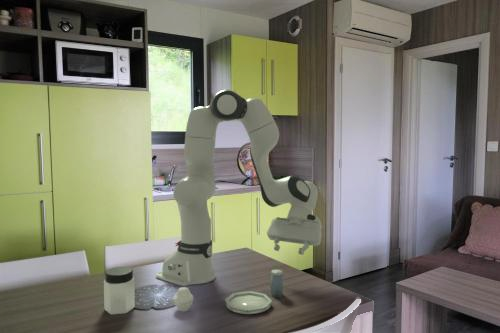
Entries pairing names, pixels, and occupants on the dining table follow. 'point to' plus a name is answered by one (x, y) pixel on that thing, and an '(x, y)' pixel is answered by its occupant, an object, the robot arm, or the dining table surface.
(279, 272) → the ball
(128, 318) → the dining table surface
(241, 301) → the plate
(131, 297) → the jar
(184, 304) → the muffin
